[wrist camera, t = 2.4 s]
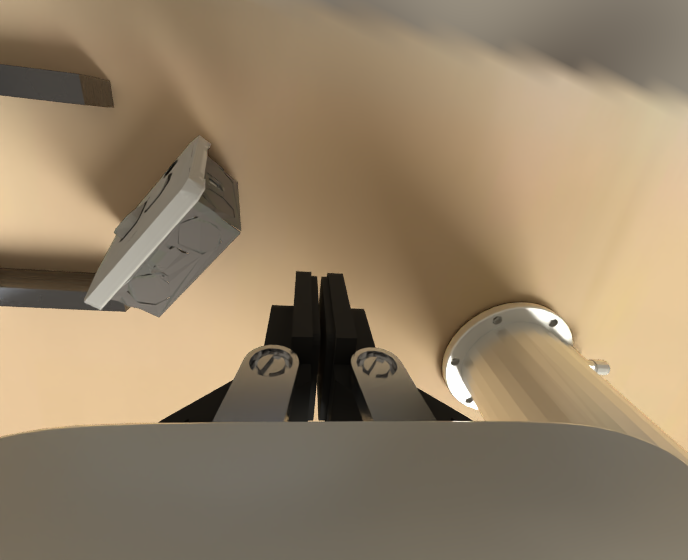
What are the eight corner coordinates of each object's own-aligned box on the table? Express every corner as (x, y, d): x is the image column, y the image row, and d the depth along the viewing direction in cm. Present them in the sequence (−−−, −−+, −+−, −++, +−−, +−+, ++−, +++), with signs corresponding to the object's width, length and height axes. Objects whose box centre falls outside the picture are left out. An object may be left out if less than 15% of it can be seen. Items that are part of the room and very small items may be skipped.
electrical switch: (201, 131, 22) (153, 151, 14) (261, 186, 25) (248, 230, 17) (123, 225, 25) (43, 288, 17) (184, 267, 27) (140, 341, 19)
